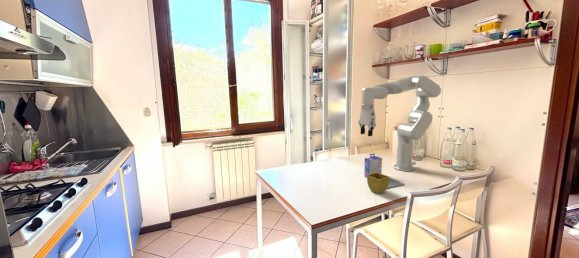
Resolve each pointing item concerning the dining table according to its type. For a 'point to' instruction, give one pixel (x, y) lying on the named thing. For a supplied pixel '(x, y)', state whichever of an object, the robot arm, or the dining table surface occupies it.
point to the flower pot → (377, 182)
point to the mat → (394, 183)
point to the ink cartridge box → (373, 165)
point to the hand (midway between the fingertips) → (366, 134)
